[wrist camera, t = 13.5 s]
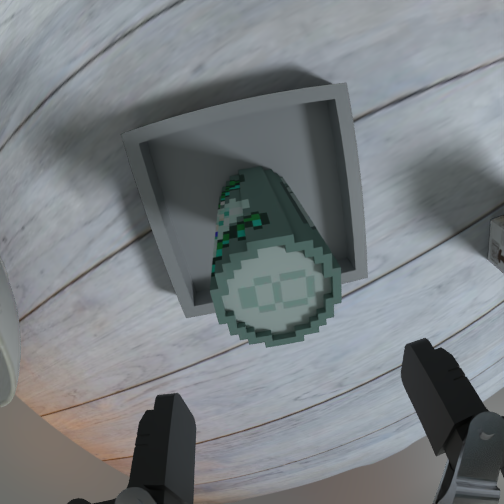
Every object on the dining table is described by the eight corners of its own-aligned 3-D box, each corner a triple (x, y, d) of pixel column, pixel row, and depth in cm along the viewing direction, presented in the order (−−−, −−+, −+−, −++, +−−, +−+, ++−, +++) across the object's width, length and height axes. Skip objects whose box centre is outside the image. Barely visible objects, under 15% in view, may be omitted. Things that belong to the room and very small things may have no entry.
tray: (133, 129, 26) (120, 134, 23) (333, 84, 25) (346, 82, 22) (189, 297, 34) (186, 318, 31) (355, 260, 33) (367, 277, 30)
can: (214, 174, 27) (199, 250, 14) (285, 162, 27) (339, 226, 14) (227, 238, 30) (227, 353, 16) (293, 226, 30) (341, 332, 16)
